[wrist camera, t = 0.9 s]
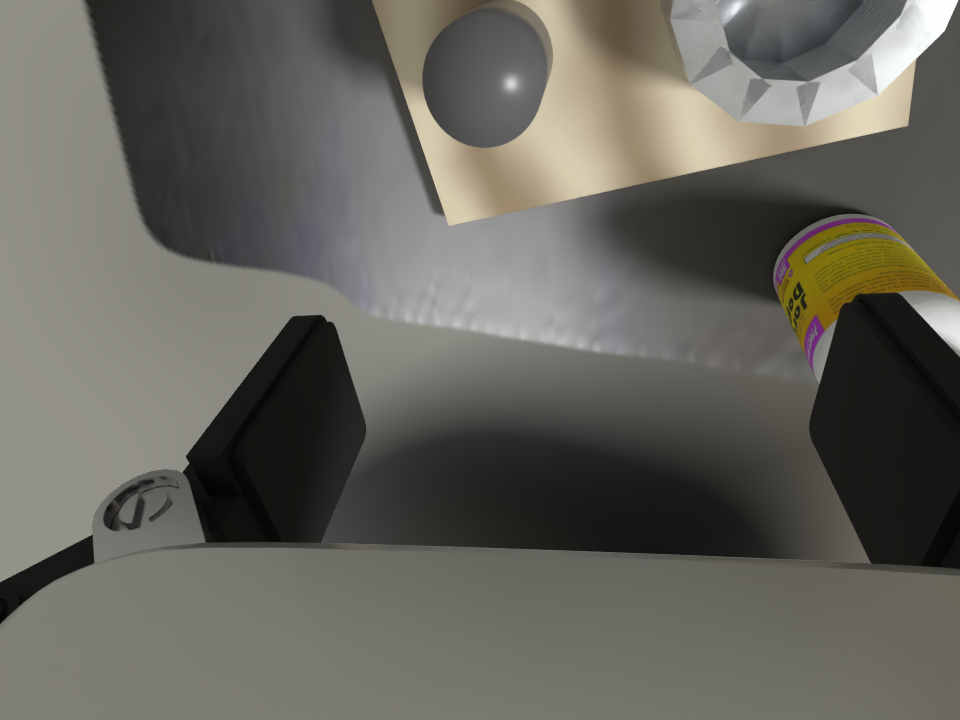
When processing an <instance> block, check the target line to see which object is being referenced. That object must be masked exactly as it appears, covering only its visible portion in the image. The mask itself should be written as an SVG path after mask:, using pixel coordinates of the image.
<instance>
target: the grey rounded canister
mask: <svg viewBox="0 0 960 720" xmlns="http://www.w3.org/2000/svg"><path fill="white" fill-rule="evenodd" d="M552 63H553V50H552V43H551V39H550V36H549V33H548V31H547V29H546V27H545V25H544V23H543V22H542V20H541V19H540V17H539V16H538V15H537V14H536V13H535V12H534V11H533V10H532V9H530V8H529V7H527V6H526V5H524V4H522V3H520V2H518V1H514V0H489V1H486V2H483V3H481V4H479V5H477V6H476V7H474V8H473V9H471V10H470V11H468V12H467V13H465V14H464V15H462V16H461V17H459V18H458V19H457V20H455V21H454V22H452V23H451V24H449V25H448V26H447V27H445V28H444V29H443V30H442V31H441V32H440V33H439V34H438V35H437V37H436V38H435V39H434V41H433V42H432V44H431V46H430V48H429V50H428V52H427V55H426V58H425V62H424V66H423V73H422V84H423V92H424V97H425V100H426V103H427V106H428V109H429V111H430V113H431V115H432V116H433V118H434V120H435V121H436V122H437V124H438V125H439V126H440V127H441V128H442V129H443V130H444V131H445V132H446V133H447V134H448V135H449V136H451V137H452V138H453V139H455V140H457V141H459V142H461V143H463V144H465V145H469V146H472V147H478V148H491V147H497V146H501V145H504V144H506V143H509V142H510V141H512V140H514V139H516V138H517V137H518V136H519V135H521V134H522V133H523V132H524V131H525V130H526V129H527V128H528V127H529V125H530V124H531V122H532V121H533V119H534V118H535V116H536V114H537V112H538V109H539V107H540V104H541V101H542V98H543V95H544V92H545V89H546V86H547V83H548V80H549V77H550V73H551V70H552Z"/></svg>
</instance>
